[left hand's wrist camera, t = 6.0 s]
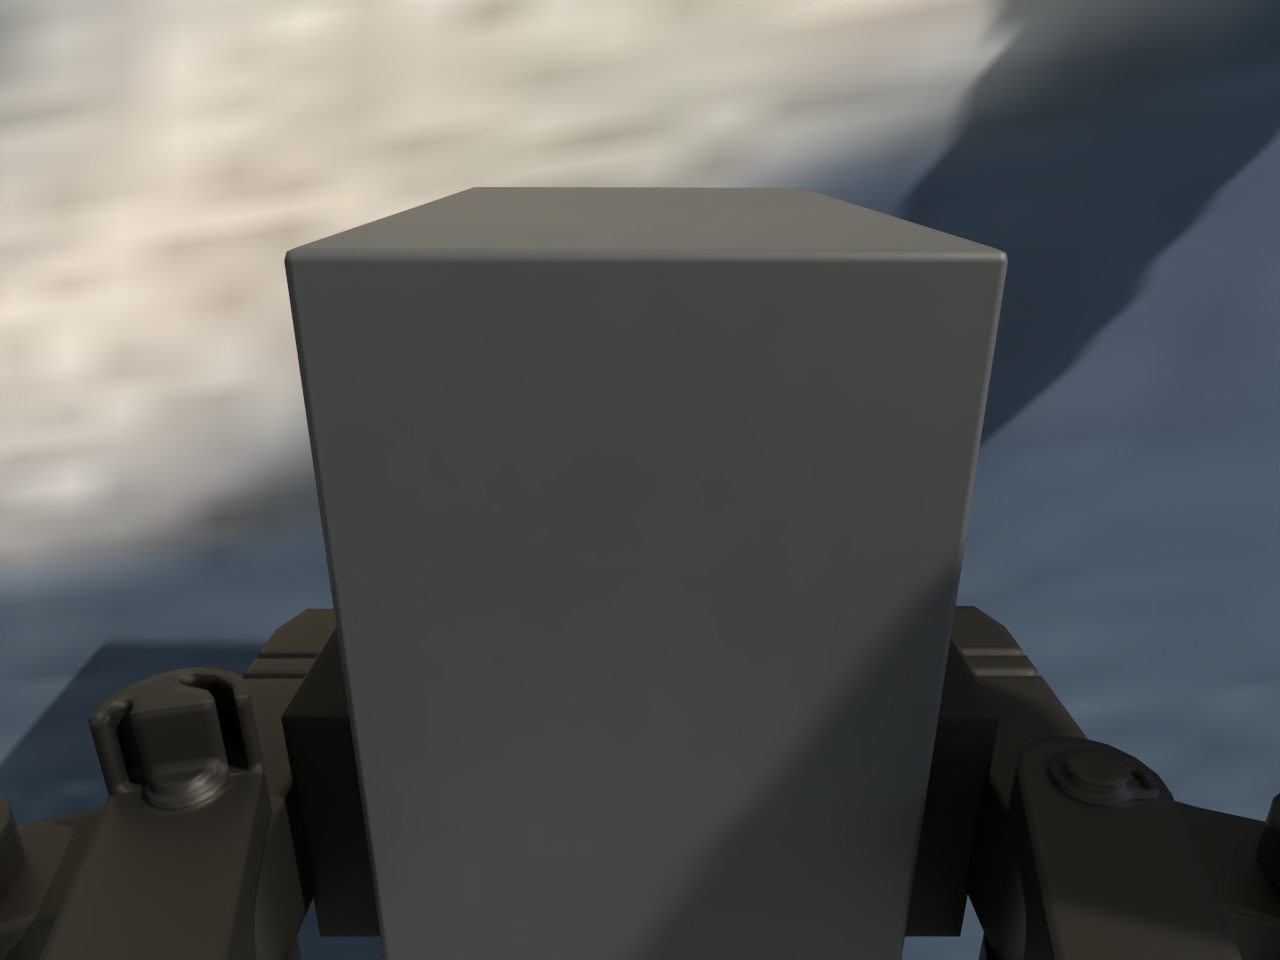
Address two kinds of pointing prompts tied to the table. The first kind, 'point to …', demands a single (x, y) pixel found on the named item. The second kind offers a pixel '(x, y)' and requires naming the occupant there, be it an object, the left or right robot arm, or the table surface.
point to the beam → (644, 560)
